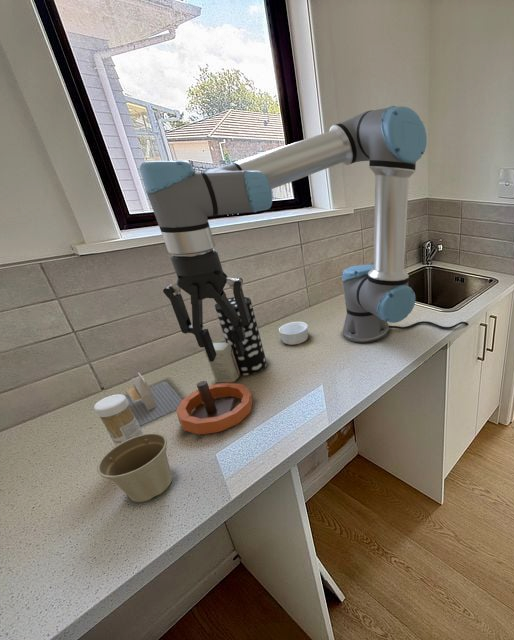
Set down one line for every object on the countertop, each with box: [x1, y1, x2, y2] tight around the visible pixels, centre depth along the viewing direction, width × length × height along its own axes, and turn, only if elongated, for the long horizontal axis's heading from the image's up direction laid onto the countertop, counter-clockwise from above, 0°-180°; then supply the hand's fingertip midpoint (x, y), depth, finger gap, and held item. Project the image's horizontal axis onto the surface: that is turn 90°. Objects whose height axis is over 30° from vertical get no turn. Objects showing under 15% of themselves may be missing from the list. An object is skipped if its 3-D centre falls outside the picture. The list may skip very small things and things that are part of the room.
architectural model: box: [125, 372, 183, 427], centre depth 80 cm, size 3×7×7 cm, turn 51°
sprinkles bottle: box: [93, 393, 144, 447], centre depth 65 cm, size 5×5×13 cm
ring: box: [175, 382, 253, 435], centre depth 77 cm, size 14×14×3 cm
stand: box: [191, 380, 236, 418], centre depth 76 cm, size 8×8×9 cm
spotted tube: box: [214, 296, 268, 376], centre depth 91 cm, size 8×8×20 cm
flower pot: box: [96, 432, 173, 503], centre depth 59 cm, size 9×9×9 cm
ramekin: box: [278, 321, 309, 346], centre depth 109 cm, size 9×9×4 cm
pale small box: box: [204, 341, 241, 383], centre depth 89 cm, size 5×4×10 cm
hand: (227, 355), depth 73 cm, fingers open, 5 cm apart
